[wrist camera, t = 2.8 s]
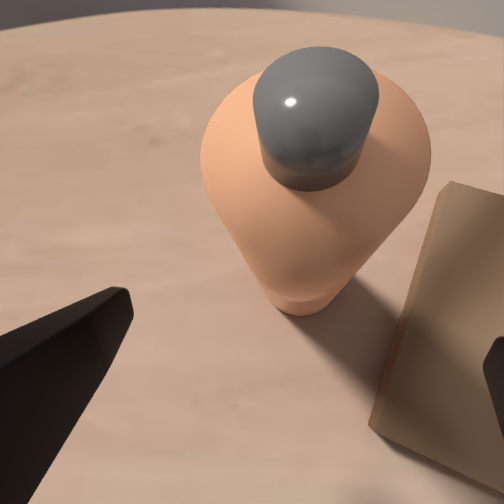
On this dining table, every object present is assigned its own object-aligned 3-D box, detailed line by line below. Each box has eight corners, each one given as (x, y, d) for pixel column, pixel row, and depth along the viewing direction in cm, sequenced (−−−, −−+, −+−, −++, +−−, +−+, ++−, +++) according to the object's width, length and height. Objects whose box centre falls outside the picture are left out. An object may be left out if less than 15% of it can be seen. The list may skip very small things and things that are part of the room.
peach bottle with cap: (349, 255, 19) (502, 15, 5) (323, 328, 18) (423, 277, 4) (278, 230, 20) (241, -27, 6) (249, 298, 19) (129, 174, 5)
